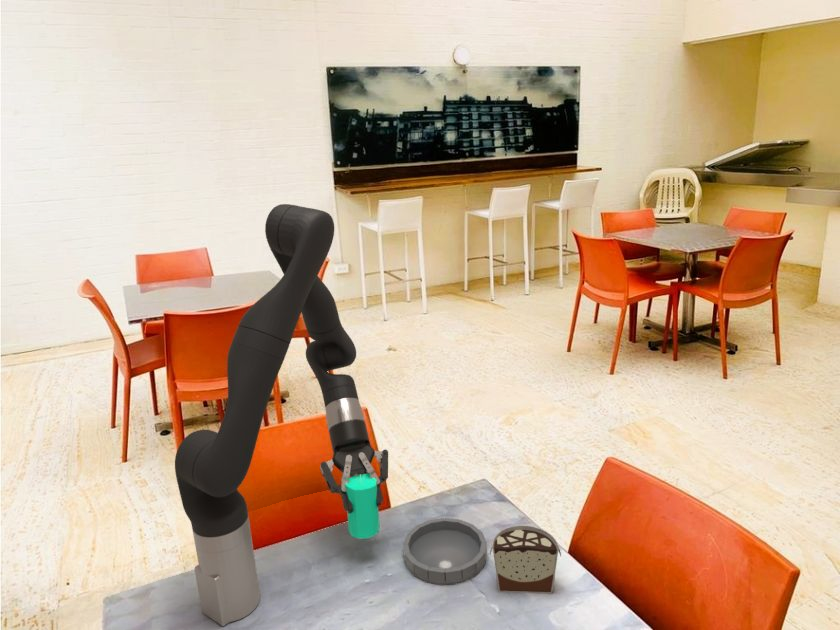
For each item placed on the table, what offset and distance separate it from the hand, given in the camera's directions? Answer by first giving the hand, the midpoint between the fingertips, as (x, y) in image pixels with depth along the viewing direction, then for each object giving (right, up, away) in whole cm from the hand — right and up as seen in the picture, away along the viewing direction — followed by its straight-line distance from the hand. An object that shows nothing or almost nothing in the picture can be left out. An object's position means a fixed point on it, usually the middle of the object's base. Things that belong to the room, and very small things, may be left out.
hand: (364, 508), depth 113 cm
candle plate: (+15, -10, +4) cm, 19 cm away
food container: (+30, -12, -4) cm, 32 cm away
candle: (0, -5, +3) cm, 6 cm away
